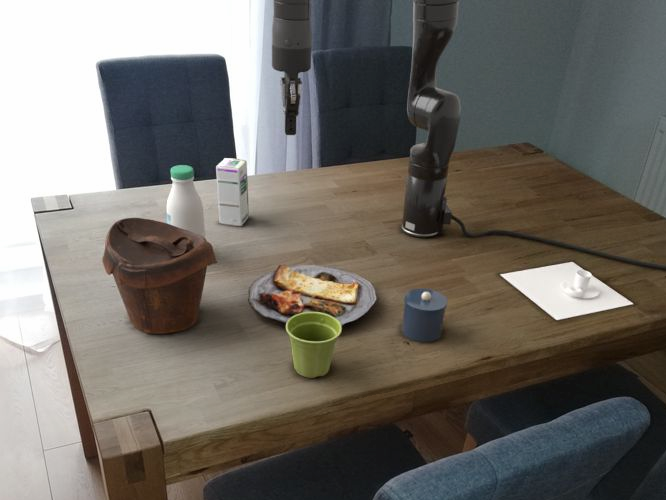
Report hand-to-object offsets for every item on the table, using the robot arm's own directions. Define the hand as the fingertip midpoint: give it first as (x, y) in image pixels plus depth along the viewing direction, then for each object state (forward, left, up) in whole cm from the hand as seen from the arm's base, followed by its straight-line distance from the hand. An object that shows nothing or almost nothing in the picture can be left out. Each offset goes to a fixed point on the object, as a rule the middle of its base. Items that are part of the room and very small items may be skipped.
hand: (290, 133), depth 145 cm
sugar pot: (-23, +33, -27) cm, 48 cm away
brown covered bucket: (+25, +26, -27) cm, 45 cm away
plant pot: (-1, +44, -27) cm, 52 cm away
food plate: (-3, +22, -27) cm, 35 cm away
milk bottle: (+22, +1, -27) cm, 35 cm away
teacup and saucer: (-58, +18, -27) cm, 67 cm away
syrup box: (+12, -18, -27) cm, 35 cm away
